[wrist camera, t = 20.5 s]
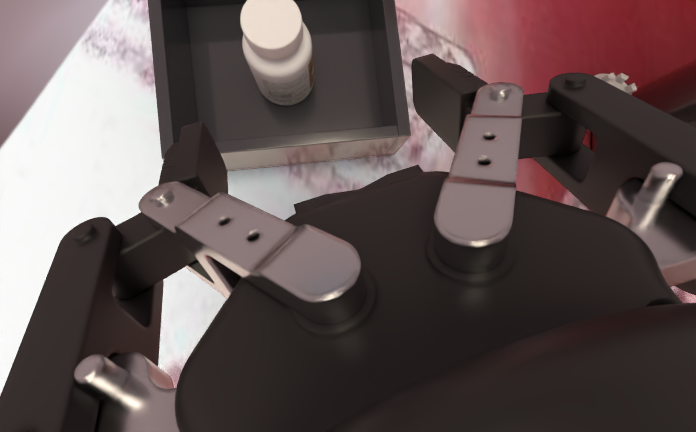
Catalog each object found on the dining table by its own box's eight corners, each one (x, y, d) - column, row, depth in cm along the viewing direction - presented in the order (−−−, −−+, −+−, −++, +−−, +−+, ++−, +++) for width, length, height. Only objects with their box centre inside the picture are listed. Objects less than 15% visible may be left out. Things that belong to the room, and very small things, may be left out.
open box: (374, -9, 29) (386, -67, 23) (394, 155, 28) (411, 135, 23) (178, 3, 28) (142, -55, 22) (194, 174, 27) (161, 159, 22)
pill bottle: (325, 85, 28) (326, 27, 20) (280, 118, 27) (263, 72, 20) (291, 40, 28) (278, -35, 20) (245, 73, 27) (214, 9, 20)
